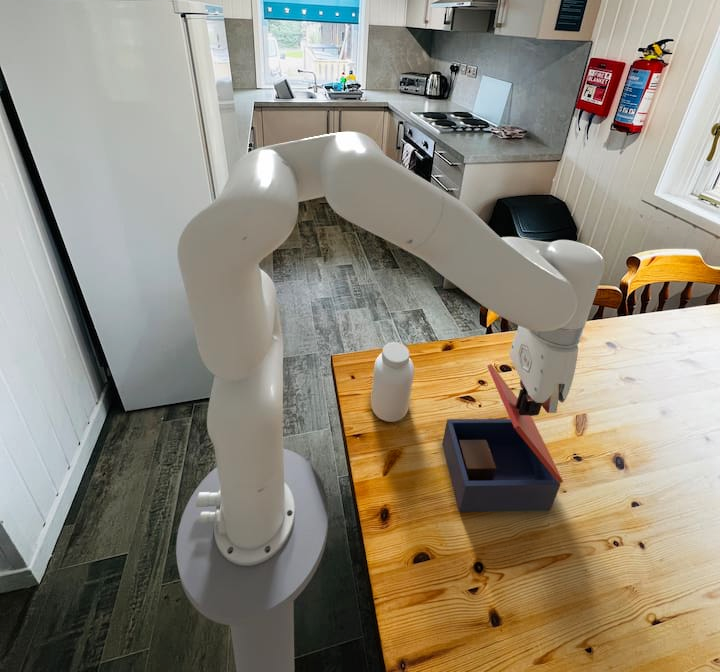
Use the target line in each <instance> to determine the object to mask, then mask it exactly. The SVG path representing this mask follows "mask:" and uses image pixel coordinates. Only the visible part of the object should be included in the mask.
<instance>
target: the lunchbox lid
mask: <svg viewBox="0 0 720 672" xmlns="http://www.w3.org/2000/svg"><path fill="white" fill-rule="evenodd" d="M486 368H487V369H488V371H489V374H490V376H491V378H492V381H493V383H494V385H495V388H496V390H497V392H498V394H499V396H500V399H501V401H502V403H503V406H504V408H505V410H506V413H507V415H508V417H509V419H510V420H511V422H512V424H513V426H514V428H515V430H516V431H517V432H518V433H519V435H520V436H521V437H522V438H523V440H524V441H525V442H526V443H527V445H528V446H529V447H530V448H531V450H532V451H533V452H534V453H535V455H536V456H537V457H538V458H539V459H540V461H541V462H542V463H543V464H544V466H545V467H546V468H547V469H548V471H549V472H550V473H551V474H552V476H553V477H554V478H555V479H556V481H557V482H558V483H559V484H560V485H561V484H562V483H564V480H563V478H562V476H561V474H560V472H559V470H558V467H557V466H556V463H555V461H554V459H553V457H552V456H551V454H550V451H549V449H548V448H547V445H546V443H545V442H544V440H543V437H542V435H541V433H540V431H539V430H538V427H537V425H536V423H535V421H534V419H533V416H529V415H520V414H519V410H518V409H517V407H516V403H517V400H518V396H516V394H515V393H514V391H512V389H511V388H510V386H509V385H508V384H507V382H506V381H505V380H504V378H503V377H502V376H501V375H500V374H499V372H498V371H497V369H496V368H495V367H494V366H493V363H492V364H491V363H489V364H488V365H487V367H486Z"/></svg>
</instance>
